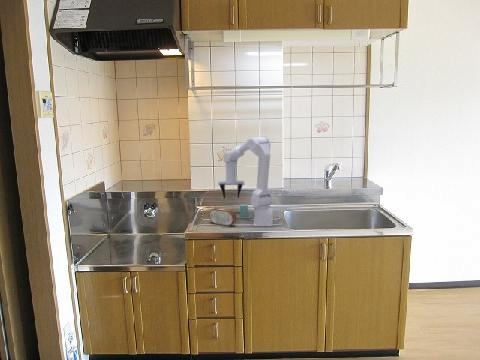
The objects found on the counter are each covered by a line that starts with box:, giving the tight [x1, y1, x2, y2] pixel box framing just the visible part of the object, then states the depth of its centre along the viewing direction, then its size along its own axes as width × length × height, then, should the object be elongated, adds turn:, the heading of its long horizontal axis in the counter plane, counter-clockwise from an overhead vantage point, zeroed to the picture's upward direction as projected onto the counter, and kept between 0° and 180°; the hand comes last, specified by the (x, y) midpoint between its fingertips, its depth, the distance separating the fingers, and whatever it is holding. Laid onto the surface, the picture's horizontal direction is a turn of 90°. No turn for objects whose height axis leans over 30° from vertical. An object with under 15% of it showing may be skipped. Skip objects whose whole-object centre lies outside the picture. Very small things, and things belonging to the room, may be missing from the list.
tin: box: [208, 206, 237, 227], centre depth 199 cm, size 15×3×8 cm, turn 59°
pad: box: [235, 213, 253, 221], centre depth 213 cm, size 9×8×1 cm
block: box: [239, 203, 249, 217], centre depth 212 cm, size 4×4×6 cm
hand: (231, 197), depth 218 cm, fingers open, 7 cm apart
